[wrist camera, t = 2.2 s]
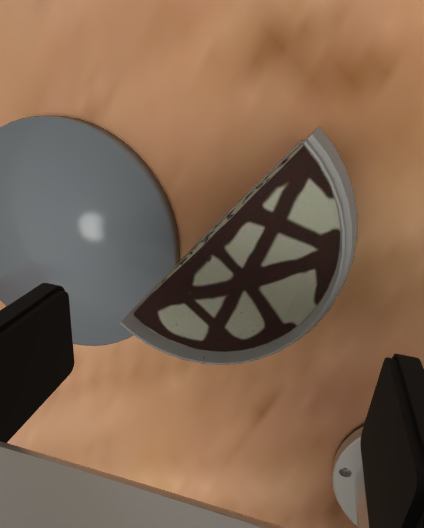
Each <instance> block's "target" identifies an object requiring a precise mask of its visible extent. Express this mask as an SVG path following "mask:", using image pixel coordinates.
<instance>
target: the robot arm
mask: <svg viewBox="0 0 424 528" xmlns="http://www.w3.org/2000/svg"><path fill="white" fill-rule="evenodd" d="M73 367H74V353H73V341H72V329H71V317H70V304H69V295H68V293H67V292H65V290H64V288H63V287H62V286H59V285H54V284H49V283H42V284H40V285H39V286H37V287H35V288H34V289H32V290H31V291H29V292H28V293H26V294H25V295H23V296H22V297H20V298H19V299H17V300H16V301H14V302H13V303H11V304H10V305H8V306H7V307H5V308H4V309H2V310H1V311H0V528H284V527H281V526H278V525H275V524H272V523H268V522H265V521H262V520H259V519H256V518H252V517H249V516H246V515H243V514H239V513H236V512H233V511H230V510H226V509H223V508H220V507H217V506H213V505H210V504H207V503H204V502H200V501H197V500H194V499H191V498H187V497H184V496H181V495H178V494H174V493H171V492H168V491H165V490H161V489H158V488H155V487H151V486H148V485H145V484H141V483H138V482H135V481H132V480H128V479H125V478H122V477H118V476H115V475H112V474H108V473H105V472H102V471H98V470H95V469H92V468H88V467H85V466H82V465H78V464H75V463H72V462H68V461H65V460H62V459H58V458H55V457H52V456H48V455H45V454H42V453H38V452H35V451H31V450H28V449H25V448H21V447H18V446H14V445H11V444H8V443H7V442H8V441H9V440H10V439H11V438H12V436H13V435H14V434H15V433H16V432H17V431H18V430H19V429H20V428H21V427H22V426H23V424H24V423H25V422H26V421H27V420H28V419H29V418H30V417H31V416H32V415H33V414H34V412H35V411H36V410H37V409H38V408H39V407H40V406H41V405H42V404H43V403H44V402H45V400H46V399H47V398H48V397H49V396H50V395H51V394H52V393H53V392H54V391H55V390H56V389H57V387H58V386H59V385H60V384H61V383H62V382H63V381H64V380H65V379H66V378H67V377H68V375H69V374H70V373H71V371H72V369H73ZM332 476H333V490H334V493H335V496H336V499H337V502H338V503H339V505H340V507H341V508H342V510H343V512H344V513H345V514H346V516H347V517H348V518H349V519H350V520H351V521H352V522H353V523H354V524H355V525H356V526H357V528H424V369H423V367H422V364H421V361H420V359H419V358H415V357H410V356H405V355H400V354H394V356H393V357H392V358H387V357H386V358H385V360H384V362H383V366H382V369H381V372H380V375H379V379H378V382H377V385H376V388H375V391H374V395H373V398H372V401H371V404H370V408H369V411H368V414H367V417H366V421H365V424H364V426H363V427H361V428H359V429H358V430H356V431H354V432H353V433H352V434H351V435H350V436H349V437H348V438H347V439H346V440H345V441H344V442H343V443H342V445H341V446H340V448H339V449H338V451H337V453H336V456H335V459H334V462H333V473H332Z"/></svg>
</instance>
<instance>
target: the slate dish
mask: <svg viewBox="0 0 424 528" xmlns="http://www.w3.org/2000/svg"><path fill="white" fill-rule="evenodd" d="M178 262H179V238H178V231H177V225H176V222H175V218H174V214H173V211H172V208H171V206H170V203H169V201H168V198H167V196H166V194H165V192H164V190H163V188H162V187H161V185H160V183H159V181H158V179H157V178H156V177H155V175H154V174H153V172H152V171H151V170H150V168H149V167H148V165H147V164H146V163H145V162H144V161H143V160H142V159H141V158H140V157H139V155H138V154H137V153H136V152H135V151H133V150H132V149H131V148H130V147H129V146H128V145H127V144H125V143H124V142H123V141H122V140H120V139H119V138H117V137H116V136H114V135H113V134H111V133H110V132H108V131H106V130H104V129H102V128H100V127H98V126H96V125H94V124H92V123H89V122H86V121H83V120H80V119H75V118H70V117H64V116H36V117H29V118H23V119H19V120H16V121H13V122H10V123H8V124H6V125H4V126H3V127H1V128H0V300H1V301H2V302H3V303H4V304H5V305H6V306H8V305H10V304H11V303H13V302H14V301H16V300H17V299H19V298H20V297H22V296H23V295H25V294H26V293H28V292H29V291H31V290H32V289H34V288H35V287H37V286H39V285H40V284H42V283H49V284H54V285H59V286H62V287H63V288H64V290H65V292H67V293H68V295H69V304H70V317H71V329H72V341H73V344H78V345H87V346H98V345H108V344H112V343H117V342H119V341H122V340H125V339H127V338H129V337H131V336H133V334H132V333H131V332H129V331H128V330H127V329H126V328H125V327H124V326H122V325H121V324H120V322H121V321H122V320H123V319H124V318H125V317H126V316H127V315H128V313H129V312H130V311H131V310H132V309H133V308H134V307H136V306H137V305H138V303H139V302H140V301H141V300H142V299H143V298H144V297H145V296H146V295H147V294H148V293H149V292H150V291H151V290H152V289H153V288H154V287H155V286H156V285H157V284H158V283H159V282H160V281H161V280H162V279H163V278H164V277H165V276H166V275H167V274H168V273H169V272H170V271H171V270H172V268H173V267H174V266H175V265H176V264H177V263H178Z"/></svg>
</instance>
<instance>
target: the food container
mask: <svg viewBox="0 0 424 528" xmlns="http://www.w3.org/2000/svg"><path fill="white" fill-rule="evenodd" d="M357 218H358V214H357V208H356V202H355V196H354V190H353V187H352V184H351V181H350V179H349V176H348V173H347V170H346V167H345V165H344V163H343V162H342V160H341V158H340V156H339V154H338V152H337V151H336V149H335V147H334V145H333V144H332V142H331V141H330V140H329V139H328V137H327V136H326V135H325V134H324V132H323V131H322V130H321V128H320V127H318V128H317V129H316V130H315V131H314V132H313V133H312V135H311V136H310V137H309V138H308V139H307V140H301V141H300V142H299V143H298V144H297V145H296V146H295V147H294V148H293V149H292V150H291V151H290V152H289V153H288V154H287V155H286V156H285V157H284V158H283V159H282V160H281V161H280V162H279V163H278V164H277V165H276V166H275V167H274V168H273V169H272V170H271V171H270V172H269V173H268V174H267V175H266V176H265V177H264V178H263V179H262V180H261V181H260V182H259V183H258V184H257V185H256V186H255V187H254V188H253V189H252V190H251V191H250V192H249V193H248V194H247V195H246V196H245V197H244V198H243V199H241V200H240V201H239V202H238V203H237V204H236V205H235V206H234V207H233V208H232V209H231V210H230V211H229V212H228V213H227V214H226V215H225V216H224V217H223V218H222V219H221V220H220V221H219V222H218V223H217V224H216V225H215V226H214V227H213V228H212V229H211V230H210V231H209V232H208V233H207V234H206V235H205V236H204V237H203V238H202V239H201V240H200V241H199V242H198V243H197V244H196V245H195V246H194V247H193V248H192V249H191V250H190V251H189V252H188V253H187V254H186V255H185V256H184V257H183V258H182V259H181V260H180V261H179V262H178V263H177V264H176V265H175V266H174V267H173V268H172V270H171V271H170V272H169V273H168V274H167V275H166V276H165V277H164V278H163V279H162V280H161V281H160V282H159V283H158V284H157V285H156V286H155V287H154V288H153V289H152V290H151V291H150V292H149V293H148V294H147V295H146V296H145V297H144V298H143V299H142V300H141V301H140V302H139V303H138V305H137V306H136V307H134V308H133V309H132V310H131V311H130V312H129V313H128V315H127V316H126V317H125V318H124V319H123V320H122V321H121V322H120V324H121V325H122V326H124V327H125V328H126V329H127V330H128V331H129V332H131V333H132V334H133V335H134V336H136V337H138V338H139V339H141V340H142V341H144V342H145V343H147V344H148V345H150V346H152V347H154V348H156V349H158V350H160V351H162V352H164V353H166V354H169V355H172V356H175V357H178V358H180V359H183V360H188V361H193V362H198V363H202V364H217V365H226V364H240V363H245V362H249V361H254V360H258V359H261V358H264V357H266V356H269V355H271V354H274V353H277V352H278V351H280V350H282V349H283V348H285V347H287V346H289V345H290V344H292V343H294V342H296V341H297V340H299V339H300V338H301V337H303V336H304V335H305V334H306V333H308V332H309V331H310V330H311V329H312V328H314V327H315V326H316V325H317V323H318V322H319V321H320V320H321V319H322V318H323V316H324V315H325V314H326V313H327V312H328V311H329V309H330V307H331V306H332V304H333V302H334V301H335V299H336V297H337V296H338V294H339V292H340V290H341V288H342V286H343V285H344V283H345V281H346V278H347V275H348V273H349V270H350V267H351V265H352V262H353V258H354V253H355V247H356V242H357Z"/></svg>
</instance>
